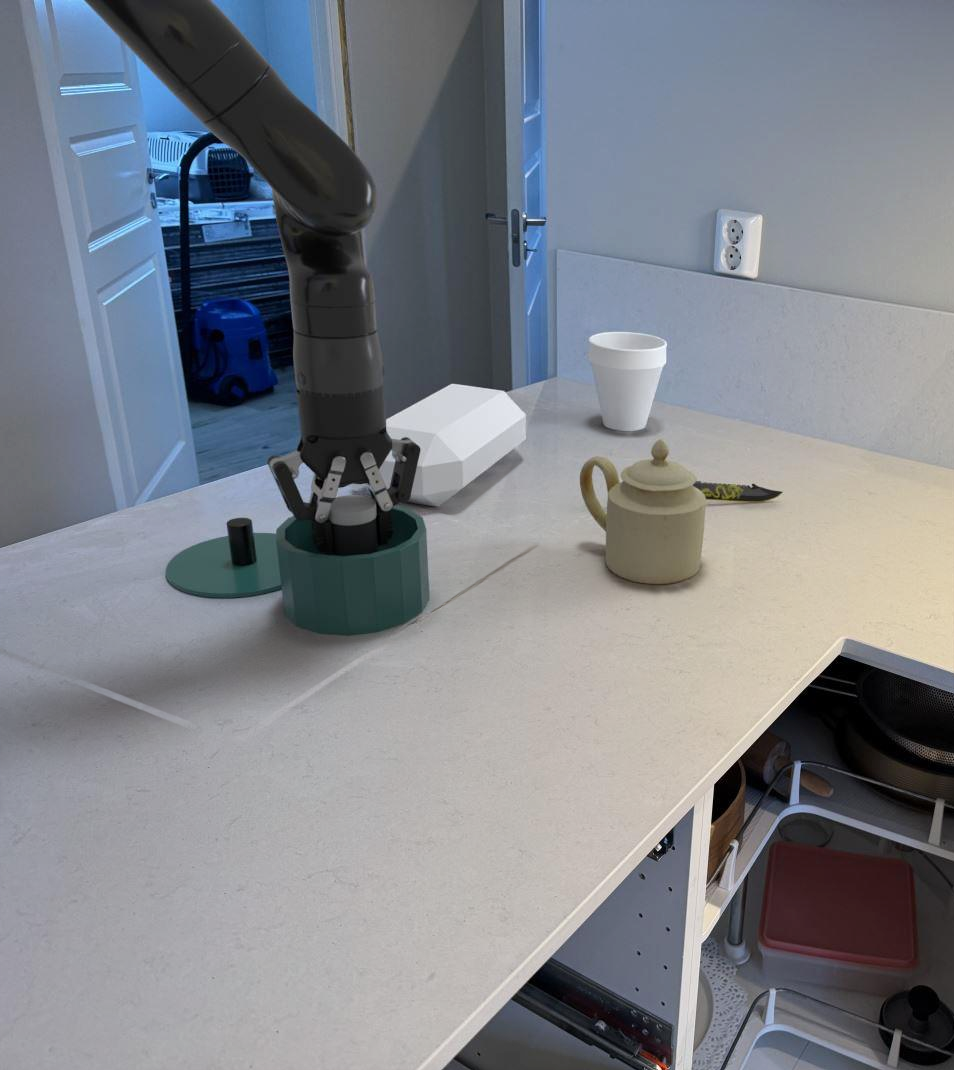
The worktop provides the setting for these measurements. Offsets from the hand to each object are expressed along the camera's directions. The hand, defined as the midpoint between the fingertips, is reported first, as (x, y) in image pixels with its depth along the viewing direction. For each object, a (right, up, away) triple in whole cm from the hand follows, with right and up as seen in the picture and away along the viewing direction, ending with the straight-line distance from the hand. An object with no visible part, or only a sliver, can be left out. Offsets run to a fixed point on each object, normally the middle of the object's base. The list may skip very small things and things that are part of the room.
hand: (354, 547), depth 97 cm
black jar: (0, -2, +1) cm, 2 cm away
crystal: (-1, +9, +37) cm, 38 cm away
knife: (+33, +5, +34) cm, 48 cm away
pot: (-1, -6, +3) cm, 6 cm away
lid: (-14, -2, +7) cm, 16 cm away
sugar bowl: (+26, -2, +17) cm, 31 cm away
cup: (+21, +19, +63) cm, 69 cm away
